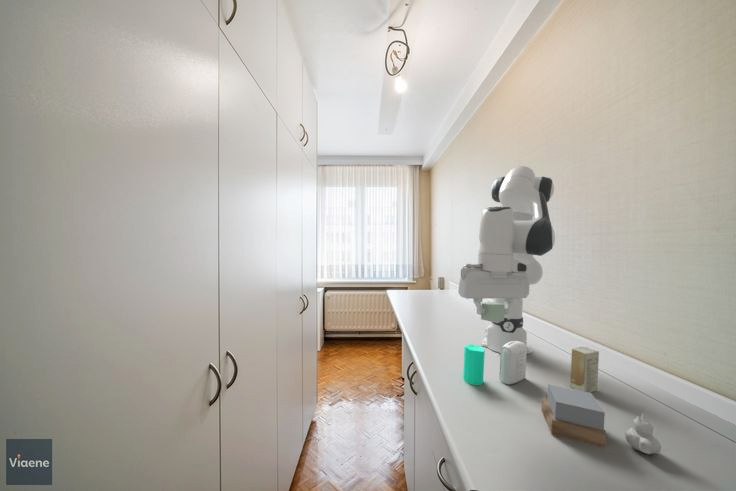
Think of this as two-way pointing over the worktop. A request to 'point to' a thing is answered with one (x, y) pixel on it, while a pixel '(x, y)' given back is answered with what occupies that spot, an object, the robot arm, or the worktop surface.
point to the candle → (473, 364)
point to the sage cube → (493, 312)
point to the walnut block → (572, 428)
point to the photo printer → (513, 362)
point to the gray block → (575, 407)
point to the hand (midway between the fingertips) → (492, 314)
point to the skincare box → (584, 369)
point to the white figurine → (642, 436)
